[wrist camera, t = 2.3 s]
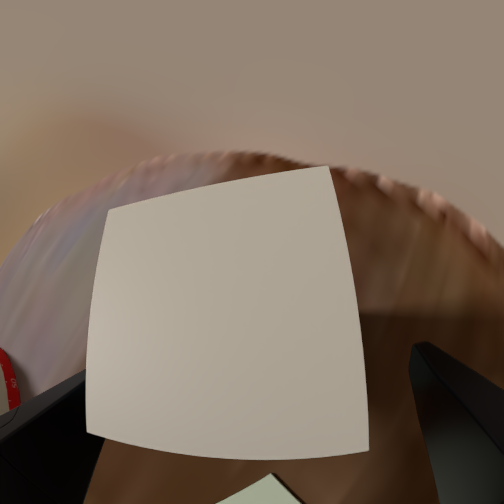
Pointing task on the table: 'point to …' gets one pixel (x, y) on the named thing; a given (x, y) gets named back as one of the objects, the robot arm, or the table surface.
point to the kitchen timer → (7, 385)
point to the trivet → (263, 493)
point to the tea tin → (229, 323)
